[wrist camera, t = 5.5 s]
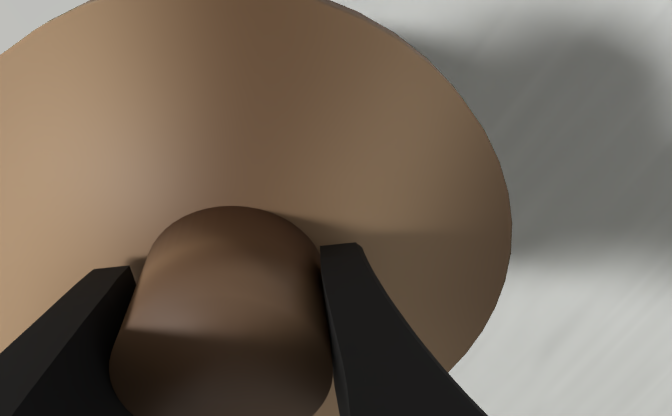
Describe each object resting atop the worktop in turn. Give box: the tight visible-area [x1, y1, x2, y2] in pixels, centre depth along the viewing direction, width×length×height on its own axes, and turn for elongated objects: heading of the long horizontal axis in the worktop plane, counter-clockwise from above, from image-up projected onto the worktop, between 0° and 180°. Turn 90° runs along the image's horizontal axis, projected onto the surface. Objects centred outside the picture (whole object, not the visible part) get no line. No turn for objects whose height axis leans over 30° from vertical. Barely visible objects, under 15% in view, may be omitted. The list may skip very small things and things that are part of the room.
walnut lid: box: [0, 0, 512, 416], centre depth 9 cm, size 10×10×3 cm
